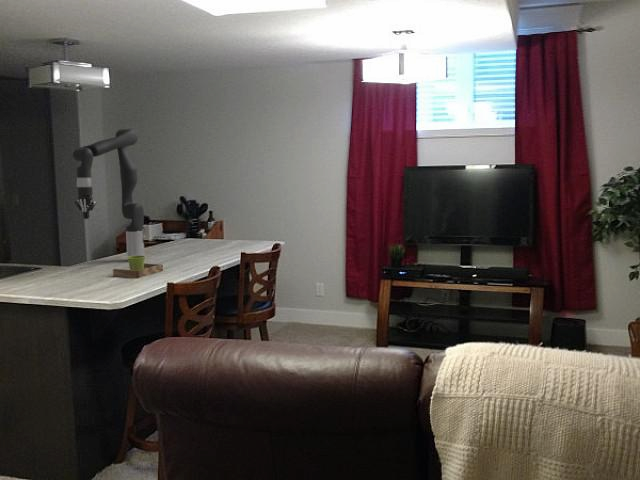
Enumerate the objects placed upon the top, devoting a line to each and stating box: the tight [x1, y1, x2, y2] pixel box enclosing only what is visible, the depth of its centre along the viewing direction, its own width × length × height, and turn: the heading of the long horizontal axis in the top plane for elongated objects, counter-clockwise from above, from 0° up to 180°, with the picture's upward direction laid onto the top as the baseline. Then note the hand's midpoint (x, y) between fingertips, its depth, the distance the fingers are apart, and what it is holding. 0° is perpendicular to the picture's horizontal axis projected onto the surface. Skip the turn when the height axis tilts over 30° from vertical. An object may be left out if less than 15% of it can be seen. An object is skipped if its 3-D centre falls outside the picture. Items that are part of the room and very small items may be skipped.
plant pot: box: [126, 255, 147, 270], centre depth 314 cm, size 9×9×9 cm
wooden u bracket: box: [112, 262, 164, 279], centre depth 313 cm, size 20×15×4 cm
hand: (86, 218), depth 325 cm, fingers closed
